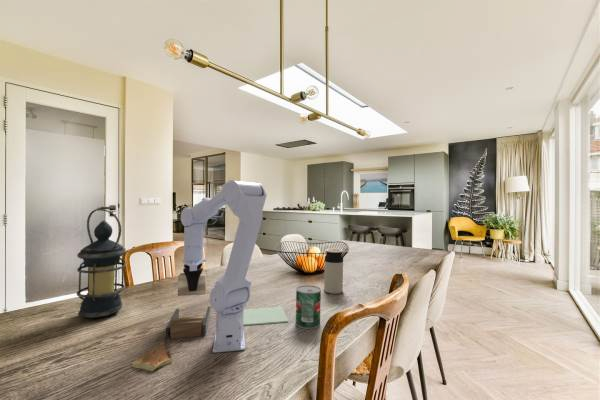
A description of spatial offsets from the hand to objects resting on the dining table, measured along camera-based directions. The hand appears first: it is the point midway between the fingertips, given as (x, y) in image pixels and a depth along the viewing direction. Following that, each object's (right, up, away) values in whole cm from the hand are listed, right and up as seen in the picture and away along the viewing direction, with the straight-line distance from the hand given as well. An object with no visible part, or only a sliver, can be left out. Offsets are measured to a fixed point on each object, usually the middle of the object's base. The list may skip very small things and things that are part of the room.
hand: (192, 288), depth 87 cm
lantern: (-32, -10, +4) cm, 34 cm away
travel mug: (+49, -12, +33) cm, 60 cm away
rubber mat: (+19, -11, +4) cm, 23 cm away
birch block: (0, -1, 0) cm, 1 cm away
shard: (-2, -11, -21) cm, 24 cm away
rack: (0, -10, -3) cm, 11 cm away
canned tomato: (+37, -11, 0) cm, 38 cm away
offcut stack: (+2, -11, -8) cm, 13 cm away
